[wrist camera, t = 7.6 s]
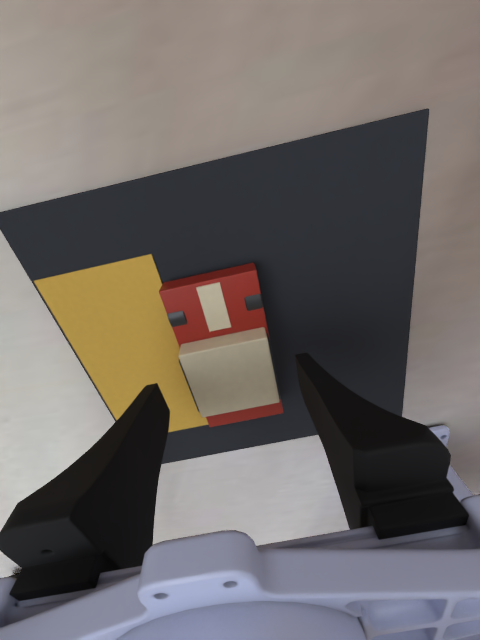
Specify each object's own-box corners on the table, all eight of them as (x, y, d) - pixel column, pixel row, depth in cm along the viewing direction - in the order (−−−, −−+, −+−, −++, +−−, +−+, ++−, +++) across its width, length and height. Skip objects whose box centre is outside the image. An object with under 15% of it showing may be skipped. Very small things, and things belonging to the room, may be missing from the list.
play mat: (398, 414, 23) (402, 419, 22) (144, 462, 24) (142, 469, 23) (422, 110, 13) (431, 107, 13) (-3, 212, 14) (-11, 214, 14)
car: (287, 428, 18) (208, 443, 18) (278, 394, 20) (210, 407, 20) (259, 278, 13) (152, 301, 13) (253, 259, 15) (164, 279, 16)
